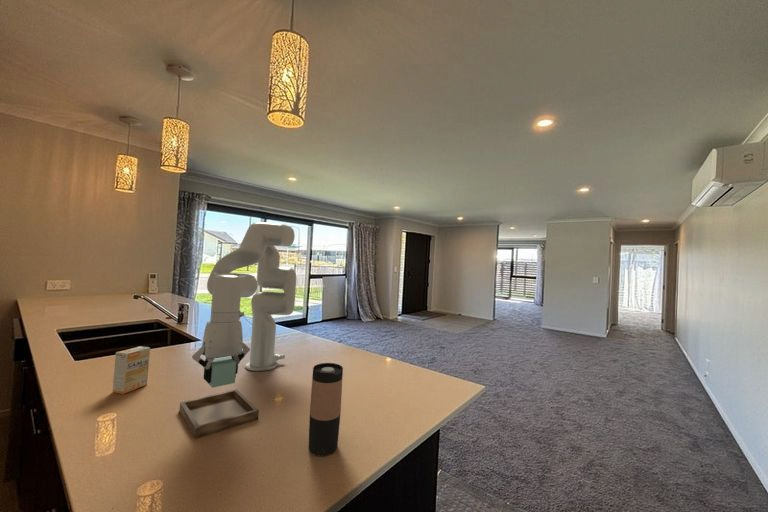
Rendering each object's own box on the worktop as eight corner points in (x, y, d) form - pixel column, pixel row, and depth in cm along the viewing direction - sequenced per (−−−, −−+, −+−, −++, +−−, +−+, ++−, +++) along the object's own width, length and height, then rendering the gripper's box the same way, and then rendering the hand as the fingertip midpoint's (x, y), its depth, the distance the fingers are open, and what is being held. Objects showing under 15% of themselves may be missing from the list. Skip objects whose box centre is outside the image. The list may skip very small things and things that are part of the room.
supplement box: (123, 394, 99) (126, 353, 99) (111, 392, 100) (114, 352, 100) (148, 385, 107) (150, 347, 107) (136, 383, 108) (139, 345, 108)
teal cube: (228, 376, 95) (229, 356, 95) (234, 382, 90) (236, 362, 90) (206, 380, 90) (207, 360, 91) (212, 387, 86) (213, 366, 86)
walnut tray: (236, 396, 102) (236, 389, 102) (258, 418, 89) (258, 410, 90) (179, 410, 91) (180, 402, 91) (195, 438, 78) (195, 428, 78)
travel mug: (310, 438, 81) (314, 362, 82) (339, 438, 82) (344, 363, 82) (305, 457, 74) (310, 372, 74) (337, 457, 74) (342, 373, 75)
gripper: (250, 313, 100) (246, 369, 99) (188, 317, 88) (183, 381, 87) (259, 317, 94) (255, 376, 94) (194, 322, 82) (189, 390, 82)
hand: (220, 378), depth 90 cm, fingers closed on teal cube, 6 cm apart
